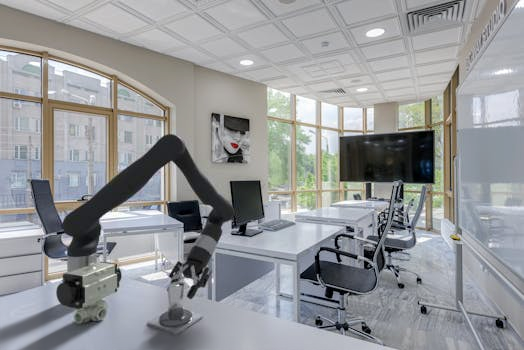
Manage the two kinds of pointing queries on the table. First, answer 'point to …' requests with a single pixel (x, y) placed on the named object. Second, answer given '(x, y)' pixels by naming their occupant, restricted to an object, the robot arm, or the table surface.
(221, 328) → the table surface
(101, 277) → the ball valve
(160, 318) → the flange
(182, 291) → the grey cylinder
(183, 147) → the robot arm
